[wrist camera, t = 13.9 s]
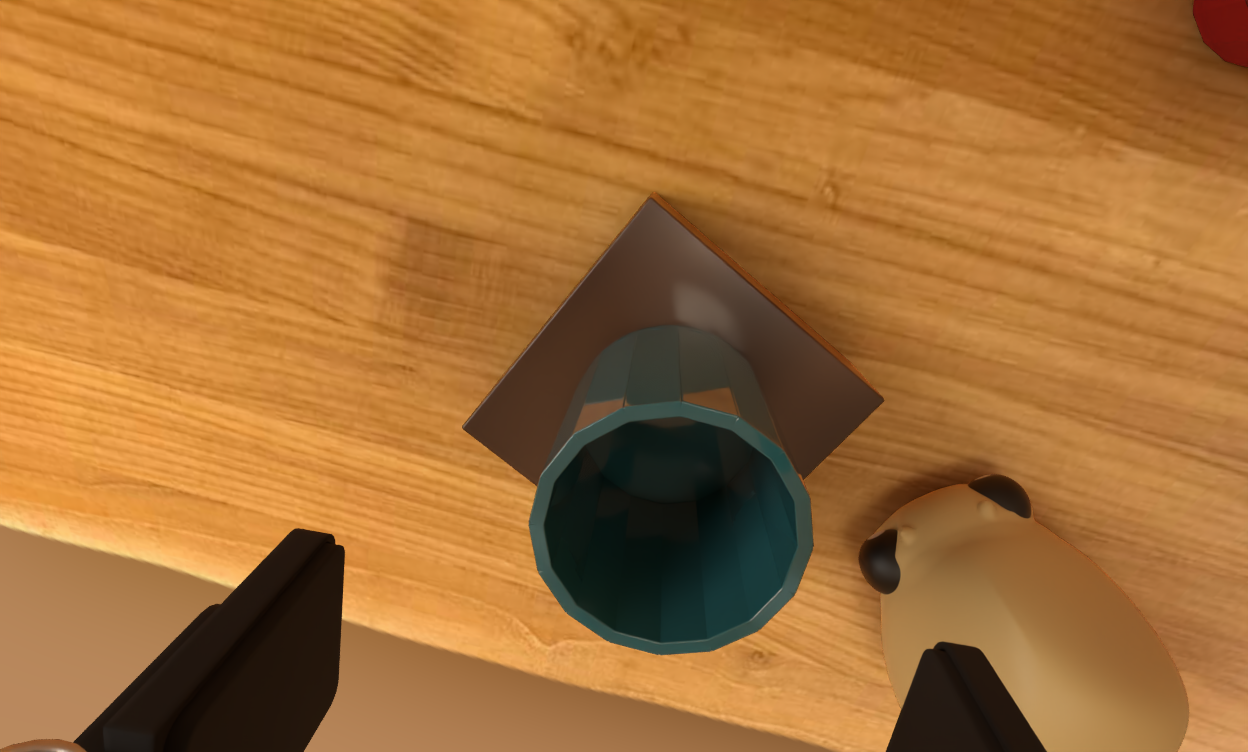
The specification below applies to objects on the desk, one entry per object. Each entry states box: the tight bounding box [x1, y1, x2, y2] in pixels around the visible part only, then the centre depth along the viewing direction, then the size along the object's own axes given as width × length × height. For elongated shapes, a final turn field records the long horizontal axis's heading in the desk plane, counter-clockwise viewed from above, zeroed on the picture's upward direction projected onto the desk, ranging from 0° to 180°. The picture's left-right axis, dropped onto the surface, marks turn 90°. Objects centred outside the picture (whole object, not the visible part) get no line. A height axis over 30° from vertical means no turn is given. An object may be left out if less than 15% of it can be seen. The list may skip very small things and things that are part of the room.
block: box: [462, 192, 884, 486], centre depth 28 cm, size 11×11×5 cm
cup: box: [529, 325, 814, 655], centre depth 21 cm, size 7×7×8 cm
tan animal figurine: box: [859, 474, 1189, 752], centre depth 28 cm, size 10×12×11 cm
